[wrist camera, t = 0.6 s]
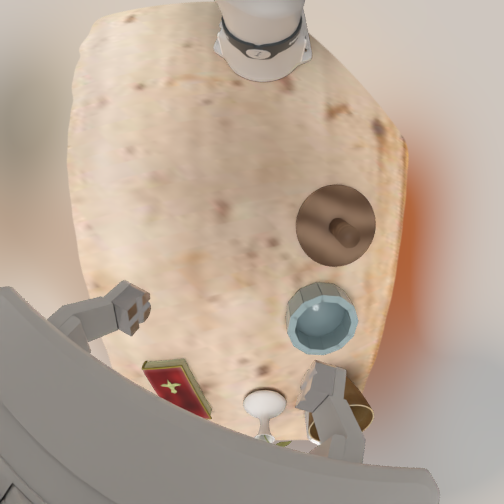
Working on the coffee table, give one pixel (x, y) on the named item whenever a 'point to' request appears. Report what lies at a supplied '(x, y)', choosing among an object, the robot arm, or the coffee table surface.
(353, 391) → the plant pot
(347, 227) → the walnut lid
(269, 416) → the flower in vase
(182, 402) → the hardcover book
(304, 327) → the ceramic bowl
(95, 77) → the coffee table surface
